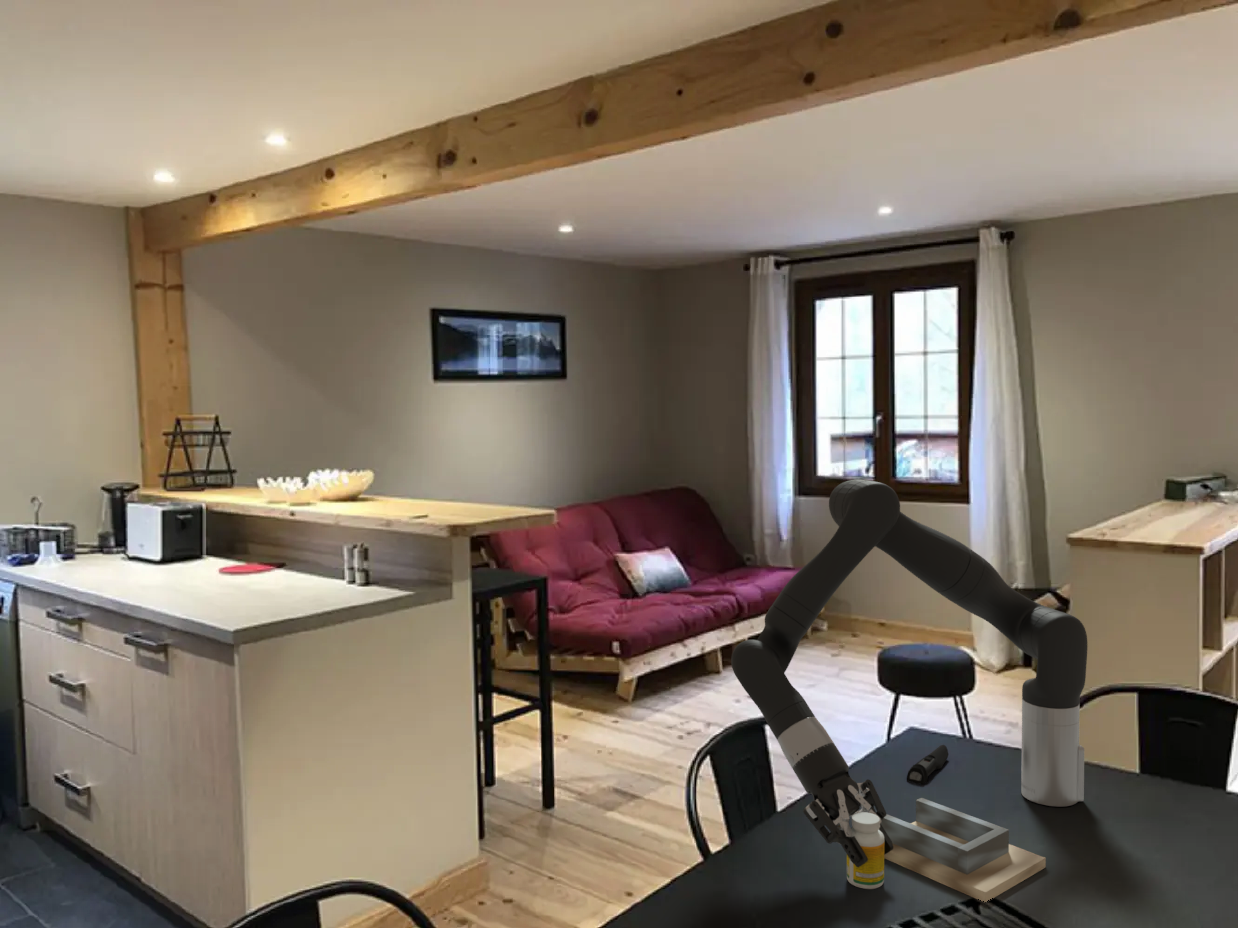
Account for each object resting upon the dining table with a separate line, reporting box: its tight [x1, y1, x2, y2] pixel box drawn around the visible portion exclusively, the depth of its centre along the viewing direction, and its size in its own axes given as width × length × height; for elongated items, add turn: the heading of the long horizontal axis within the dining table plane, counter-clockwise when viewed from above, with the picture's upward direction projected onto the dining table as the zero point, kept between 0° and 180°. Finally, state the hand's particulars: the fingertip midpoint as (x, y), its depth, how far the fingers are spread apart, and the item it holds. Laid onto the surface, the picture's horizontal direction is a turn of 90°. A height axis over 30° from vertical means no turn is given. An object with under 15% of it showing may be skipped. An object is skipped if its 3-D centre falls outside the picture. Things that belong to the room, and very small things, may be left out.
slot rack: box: [881, 797, 1047, 903], centre depth 149 cm, size 20×16×5 cm
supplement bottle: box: [846, 812, 885, 890], centre depth 143 cm, size 5×5×10 cm
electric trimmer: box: [906, 744, 949, 785], centre depth 185 cm, size 4×16×3 cm, turn 142°
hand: (875, 857), depth 142 cm, fingers closed on supplement bottle, 5 cm apart
